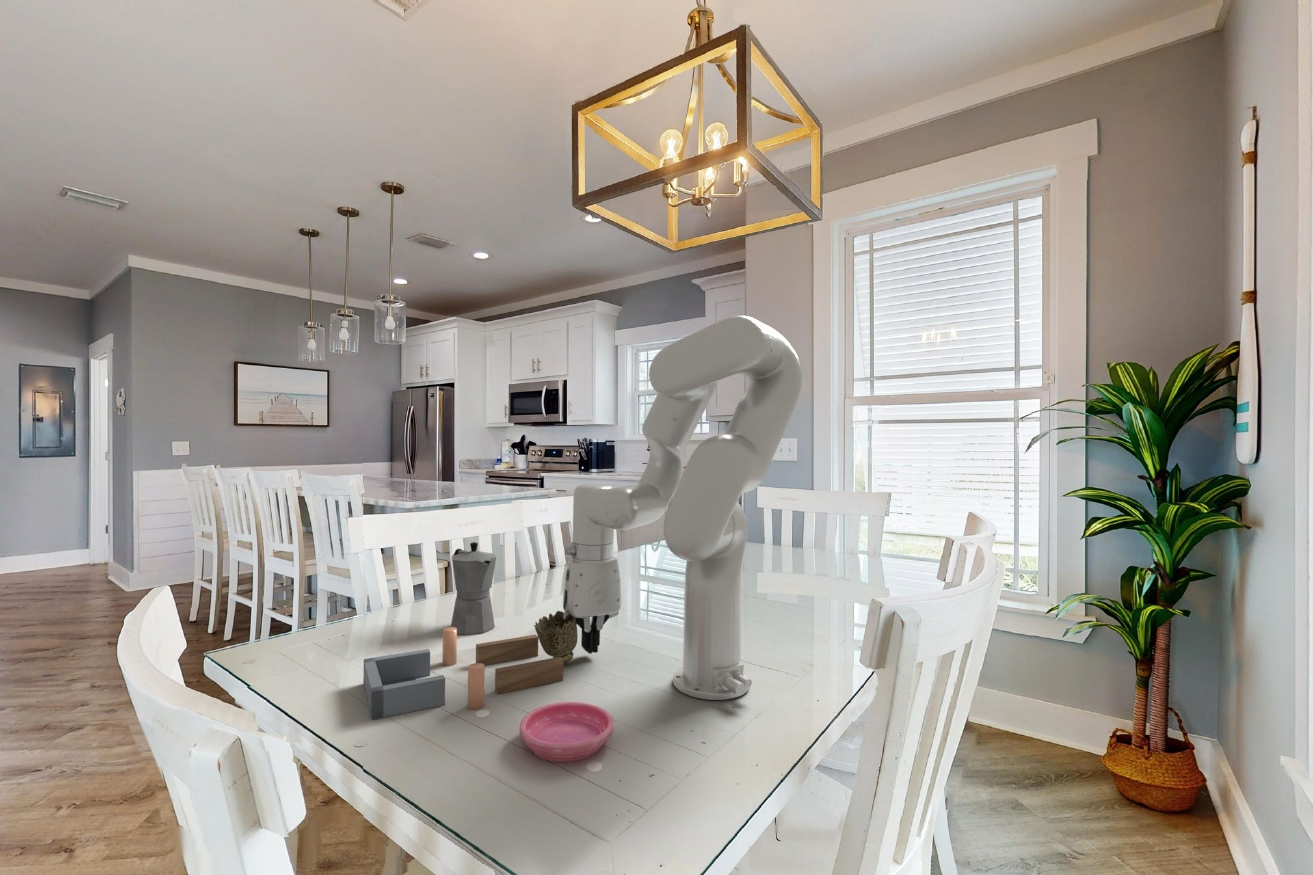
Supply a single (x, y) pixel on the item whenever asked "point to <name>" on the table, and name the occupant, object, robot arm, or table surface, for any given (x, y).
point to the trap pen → (401, 684)
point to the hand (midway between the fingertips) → (590, 650)
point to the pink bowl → (566, 730)
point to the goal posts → (474, 670)
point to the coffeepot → (473, 591)
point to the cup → (557, 636)
